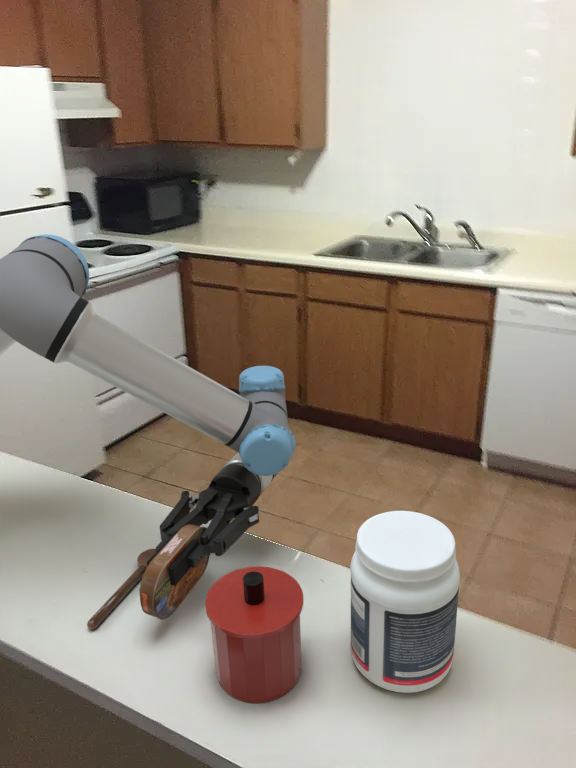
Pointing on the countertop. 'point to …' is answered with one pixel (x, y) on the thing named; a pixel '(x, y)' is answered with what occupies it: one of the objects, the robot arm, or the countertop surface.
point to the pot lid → (254, 602)
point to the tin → (156, 584)
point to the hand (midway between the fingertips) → (161, 573)
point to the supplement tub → (404, 601)
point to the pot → (258, 664)
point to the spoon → (121, 590)
